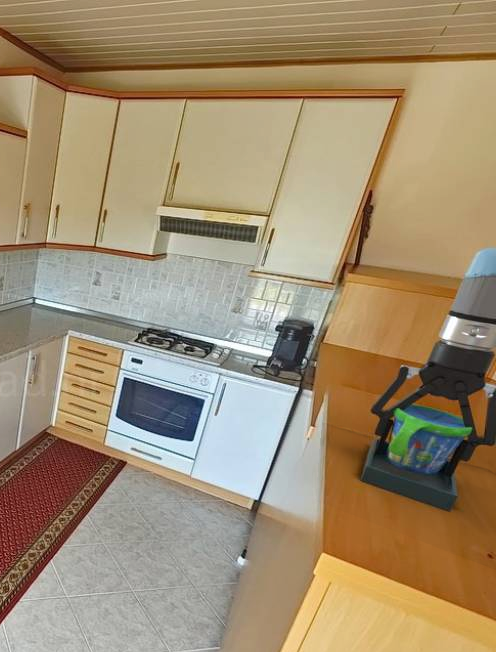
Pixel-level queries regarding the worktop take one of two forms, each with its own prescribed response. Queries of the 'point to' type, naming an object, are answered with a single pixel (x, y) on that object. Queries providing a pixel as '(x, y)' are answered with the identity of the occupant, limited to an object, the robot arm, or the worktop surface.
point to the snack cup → (424, 438)
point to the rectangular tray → (409, 480)
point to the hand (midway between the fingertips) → (411, 462)
